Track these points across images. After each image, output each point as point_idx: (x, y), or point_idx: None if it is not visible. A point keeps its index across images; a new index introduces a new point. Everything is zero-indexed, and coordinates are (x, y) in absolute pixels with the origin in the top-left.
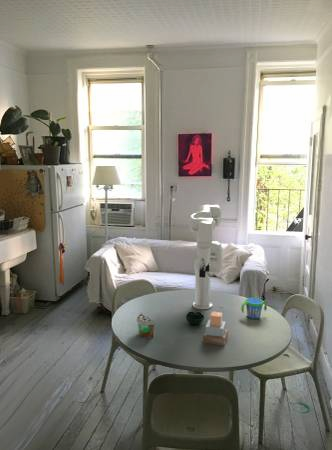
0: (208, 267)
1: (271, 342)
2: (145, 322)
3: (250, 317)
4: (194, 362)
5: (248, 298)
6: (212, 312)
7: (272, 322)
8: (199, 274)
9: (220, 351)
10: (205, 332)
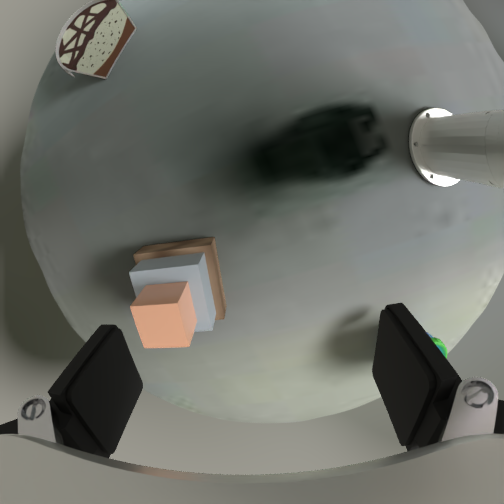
0: (392, 415)
1: (244, 404)
2: (56, 54)
3: None
4: (48, 261)
5: (440, 346)
6: (165, 307)
7: (367, 383)
8: (85, 345)
9: (124, 308)
10: (156, 254)
